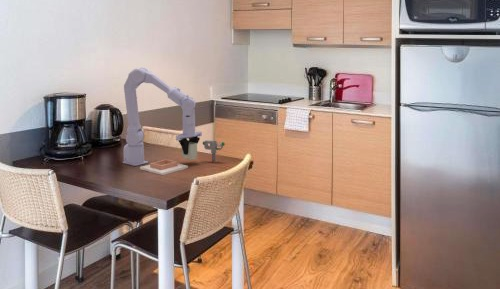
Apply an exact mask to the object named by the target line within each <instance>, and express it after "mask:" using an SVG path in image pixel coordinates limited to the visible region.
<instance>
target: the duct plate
mask: <svg viewBox="0 0 500 289" xmlns="http://www.w3.org/2000/svg"><path fill="white" fill-rule="evenodd" d="M188 168H189V166H188V165H185V164H181V163H179V162H178V161H176V160H171V159H162V160H158V161H154V162H150V163H149V164H146V165H142V166H140V167H139V169H140V170H142V171H147V172H150V173H152V174H157V175H161V176H164V175H168V174H172V173H175V172H179V171H182V170H185V169H188Z"/></svg>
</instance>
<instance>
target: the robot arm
mask: <svg viewBox="0 0 500 289" xmlns="http://www.w3.org/2000/svg"><path fill="white" fill-rule="evenodd" d="M143 83H144V84H152V85H153V86H155V87H157V88H158V89H160V90H161V91H163V92H164V93H166V94H167V98H168V99H169V100H171V101H172V102H174V103H175V104H176V105H177V106H179V107H181V109H182V117H181V118H182V133H181V134H179V135H176V136H175V140H176V141H178V143H179V144H180V146H181V150H182V149H183V153H184V154H186V155H188V146H189V142H193V143H197V145H198V144H199V142H200V139H201V138H200V137H202V131H196V114H195V113H196V110H195V107H196V105H197V104H196V100H194V98H193V97H192V96H191V97H190V95H189V94H185V93H184V92H182V91H181V88H179V87H171V86H170V85H168V84H167V83H166V82H164V80H162V79H161V78H160V77H158V76H157V75H156V74H154V73H153V72H152V71H150V70H148V69H147V68H146V67H140V68H134V69H132V70H131V71H130V72H129V73H128V75H127V78H126V81H125V83H124V85H123V92H124V99H125V109H126V116H127V118H126V119H127V129H126V136H125V141H126V144H125V145H124V146H123V149H122V150H123V161H122V163H123V164H126V165H130V166H133V167H135V166H136V167H137V166H141V165H144V164H148V163H149V161H147V160H145V149H144V148H145V146H144V142H143V140H144V139H145V132H144V131H143V129H142V125H141V123H140V116H139V115H140V114H139V106H138V96H137V89H138V88H139V86H141V84H143Z"/></svg>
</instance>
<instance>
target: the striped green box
mask: <svg viewBox="0 0 500 289" xmlns="http://www.w3.org/2000/svg"><path fill="white" fill-rule="evenodd" d="M181 158H182V159H186V160H194V159H195V160H196V159H198V144H197V143H193V142H189V146H188V155H186V154H184V153H183V149H182V148H181Z"/></svg>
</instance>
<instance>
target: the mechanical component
mask: <svg viewBox="0 0 500 289" xmlns="http://www.w3.org/2000/svg"><path fill="white" fill-rule="evenodd" d="M202 145H203V146H204V149H205V150H206V151H207V150H210V154H211V162H212V163H216V153H217V151H221V150H222V149H223V148H224V146H225V145H226V144H225V141H221V142H220V143H219V144H218V141H217V140H203V141H202Z"/></svg>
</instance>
